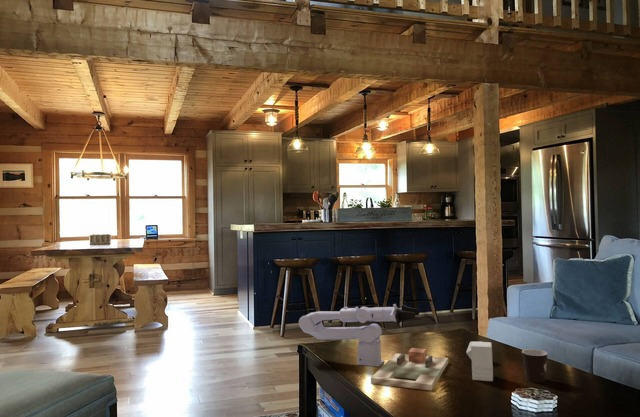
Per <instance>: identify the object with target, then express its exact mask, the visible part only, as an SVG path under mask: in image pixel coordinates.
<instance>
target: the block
mask: <svg viewBox="0 0 640 417" xmlns="http://www.w3.org/2000/svg"><path fill="white" fill-rule="evenodd" d="M407 352H408V353H407V354H409V361H410V362H420V363H424V362H425V360H426V359H427V357H426V356H427V348H418V347H417V348H416V347H411V348H410V349H409V350H408V351H407Z"/></svg>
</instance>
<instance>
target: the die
mask: <svg viewBox="0 0 640 417" xmlns="http://www.w3.org/2000/svg"><path fill="white" fill-rule="evenodd" d="M477 342H483V341H477ZM471 344H472V341H470V342H469V344H468V347H467V349H466V353H465V354H466V355H467V356H468V357H469V359H470V360H471V361H472V355H471Z"/></svg>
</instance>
